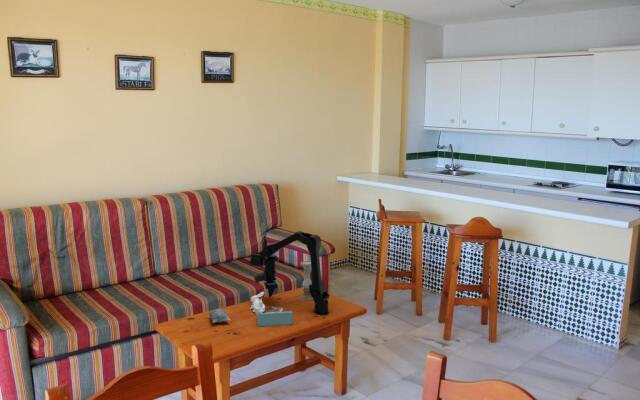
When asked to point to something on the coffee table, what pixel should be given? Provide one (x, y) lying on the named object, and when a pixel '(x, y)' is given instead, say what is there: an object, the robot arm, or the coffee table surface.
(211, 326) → the coffee table surface
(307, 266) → the candle holder
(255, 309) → the rabbit figurine
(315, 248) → the robot arm
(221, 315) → the packaged food
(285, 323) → the display stand
